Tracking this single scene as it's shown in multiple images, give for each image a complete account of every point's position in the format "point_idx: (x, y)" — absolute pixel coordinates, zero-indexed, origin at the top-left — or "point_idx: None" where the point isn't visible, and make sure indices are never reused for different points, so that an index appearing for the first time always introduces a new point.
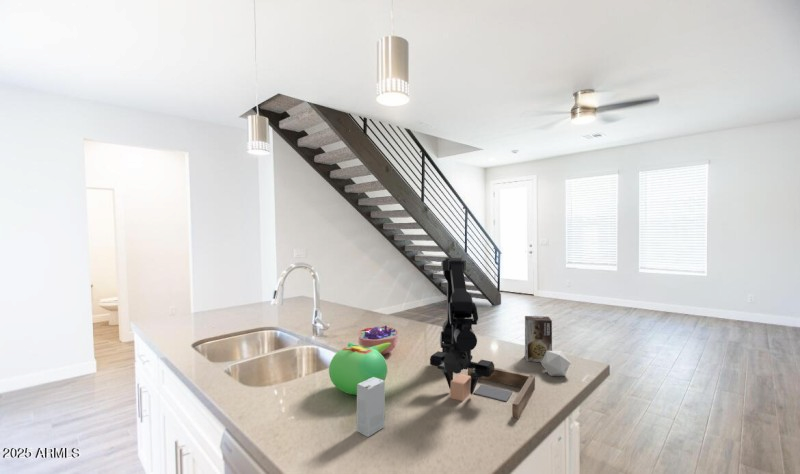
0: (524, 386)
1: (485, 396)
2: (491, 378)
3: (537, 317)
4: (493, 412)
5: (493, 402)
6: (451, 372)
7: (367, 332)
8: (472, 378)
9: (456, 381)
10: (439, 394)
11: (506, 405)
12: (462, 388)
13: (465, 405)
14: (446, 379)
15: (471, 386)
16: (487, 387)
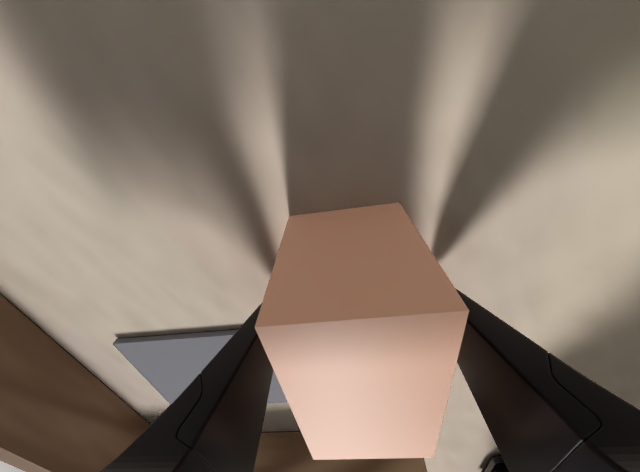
0: (29, 464)
1: (224, 331)
2: (304, 444)
3: None
4: (29, 202)
5: (149, 305)
6: (527, 464)
7: None
8: (156, 469)
9: (382, 347)
10: (509, 195)
11: (84, 313)
12: (276, 282)
13: (230, 164)
14: (538, 345)
15: (237, 353)
16: (276, 394)
